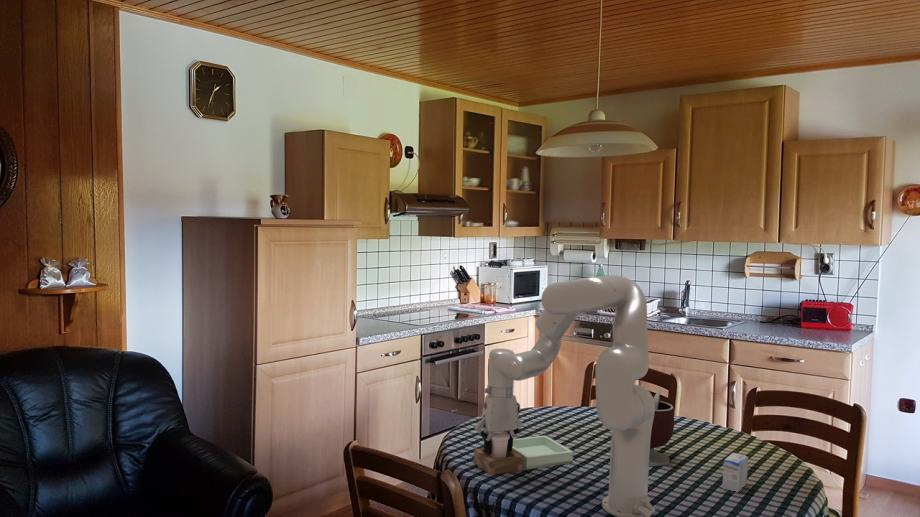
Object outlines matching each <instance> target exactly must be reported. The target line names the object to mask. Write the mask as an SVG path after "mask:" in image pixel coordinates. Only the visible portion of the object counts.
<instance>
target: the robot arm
mask: <svg viewBox="0 0 920 517" xmlns="http://www.w3.org/2000/svg"><path fill="white" fill-rule="evenodd" d="M541 294H542V295H541V305H542V308H543V310H542V311H541V313H540V314H539V316H538V317H537V318H536V321H535V328H536V329H537V330H538V332H539V333H540V336H539V338H538V339H537V341H536V343H535V344H534V346H533V347H532V348H531V349H530V350H527V351H523V352H519V353H515V352H514V350H511V349H509V348H492V349H491V350H490V351H489V354H488V371H487V372H488V375H487V376H488V377H487V378H488V379H487V380H488V381H487V387H486V388H484V389H483V393H484V394H486V395H485V398H484V401H483V407H482V413H481V420H479V422H478V423H477V424H476V425H475V426H474V430H475V431H476V432H477V434H479V435H480V436H481V437H482V439H483V448H484V450H485V452H486V453H488V454H491V450H492V441H491V440H490V438H491V436H492V433H493V432H502V431H506V432H507V433H508V434H509V435H510V436H509V437H510V438H509V439H508V445H507V450H508V451H509V452H512V447H513V439H515V437H516V435H517V433H519V431H520V429H521V428H522V427H524V423H523V422H522V421H521V419H519V415H518V408H517V402H518V401H517V396H516V395H514V384H515V383H514V381H515V382H516V381H524V380H528V379H531V378H534V377H539V376H541V375H542V374H544V373H545V372H546V371H547V370H548V369H549V367H550V366H551V365H552V363H553V362H554V361H555V359H556V358H557V356H558V354H559V352H560V350H561V346H562V342H563V341H562V339H563V337H564V336H565V334H566V333H567V332H568V330H569V328H570V327H571V325H572V324H573V323H574V322H575V320H576V319H577V318H578V316H579V315H580V313H587V312H597V311H604V310H609V309H614V311H615V312H614V319H613V322H612V346H610V347H608V348H606V349H604V350H603V351H602V352H601V353H600V354H599V355H598V357H597V360H596V365H595V403H596V413H597V416H598V419H599V421H600V422H601V424H602V425H603V427H605V428H606V430H609V431H612V432H611V438H610V440H611V441H610V442H611V443H610V460H609V479H608V480H609V481H608V482H609V483H608V495H607V496H605V497H603V499H602V500H601V507H602V508H603V509H604V510H605V511H606V512H607V513H608V514H610V515H613V516H614V517H651V516H652V515H653V514H654V513H655V512H656V508H655V507H654V506H653V505H652V504H651V502H650V499H651V498H650V496H648V492H649V491H648V490H649V489H648V488H649V474H650V473H649V470H650V469H649V468H650V465H649V453H650V438H651V429H652V424H653V419H654V413H655V403H654V399H653V398H654V397H653V395H652V393H651V392H650V390H648V389H647V388H645V387H643V386H642V385H638V384H634V382H635V381H638V380H640V379H642V378H644V377H645V376H646V374H647V373H648V370H649V366H650V364H649V363H650V360H649V336H648V335H649V334H648V333H649V332H648V305H647V299H646V297H645V294H644V292H643V290H642V289H641V287H640V286H639V285H638V284H637V283H636V282H635V281H634V280H632V279H631V278H628V277H625V276H623V275H618V274H617V275H613V274H612V275H609V274H608V275H599V276H590V277H583V278H578V279H572V280H567V281H558V282H556V281H555V282H552V283H550V284H549V285H548V286H546V288H545V289H544V290H543V292H542V293H541ZM482 428H484V430H483V429H482Z"/></svg>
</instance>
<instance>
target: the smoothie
mask: <svg viewBox="0 0 920 517" xmlns="http://www.w3.org/2000/svg"><path fill="white" fill-rule="evenodd" d="M509 436H510V435H509V434H508V433H507V432H503V431H502V432H493V433H492V436H491V438H490V440H491V441H492V450H491V458H492V459H496V458H504V457H506V451H507V445H508V439H509V438H510V437H509Z"/></svg>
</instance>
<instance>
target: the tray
mask: <svg viewBox="0 0 920 517" xmlns="http://www.w3.org/2000/svg"><path fill="white" fill-rule="evenodd" d="M512 450H513V451H515V452H516V453H517V454H519V455H520V456H522V457H523V463H522V468H524V469H525V470H532V469H541V468H548V467H555V466H560V465H561V466H562V465H569V464H573V463H574V451H573V450H572V449H569V448H568V447H566V446H564V445H563V444H561V443H559V442H557V441H556V440H554V439H552V438H551V437H549V436H547V435H538V436H537V435H536V436H530V437H529V436H527V437H521V438H520V437H519V438H513V447H512Z"/></svg>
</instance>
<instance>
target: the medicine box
mask: <svg viewBox="0 0 920 517" xmlns="http://www.w3.org/2000/svg"><path fill="white" fill-rule="evenodd" d="M748 465H749V456H747V455H744V454H740V453H736V452H732V453H731V454H729V456H727V457H726V458H725V459H723V469H722V485H721V488H723V489H727V490H731V491H736V492H739V491H740V490H741V489H742V487H743V486H744V485H745V484H746V485H747V480H748V468H749V466H748ZM723 489H722V490H723ZM742 490H743V489H742ZM742 490H741V491H742ZM741 491H740V492H741ZM740 492H739V493H740Z"/></svg>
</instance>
